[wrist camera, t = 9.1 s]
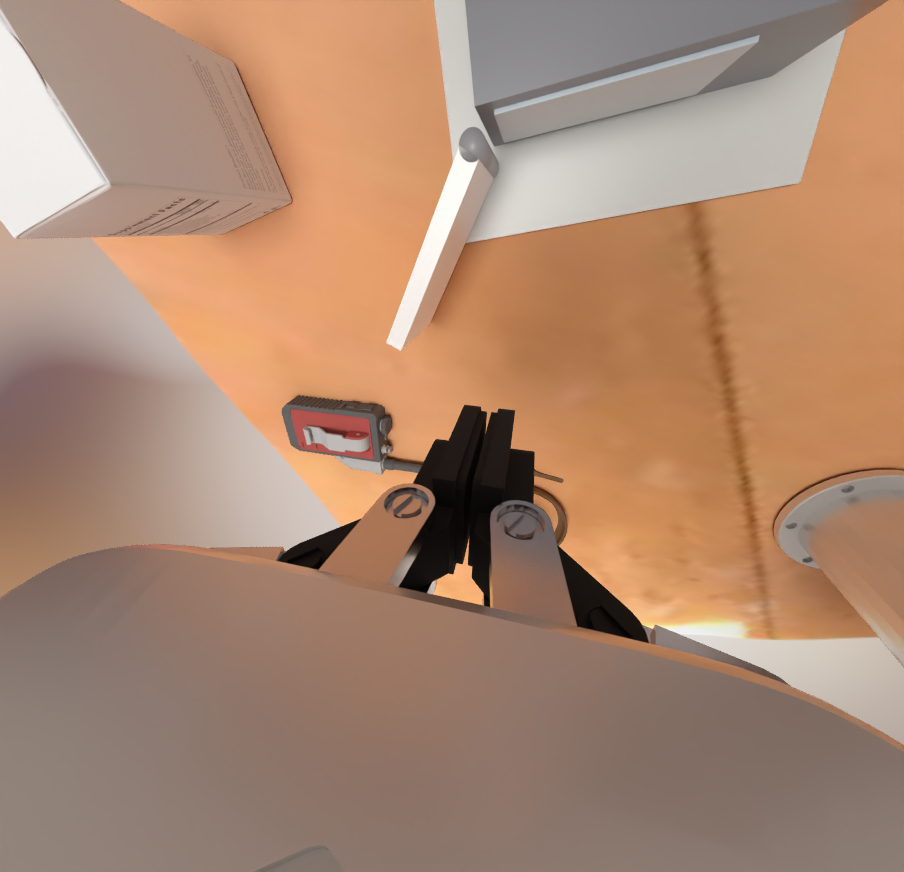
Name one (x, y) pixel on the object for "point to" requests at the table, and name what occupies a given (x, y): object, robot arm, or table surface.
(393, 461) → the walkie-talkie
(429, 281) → the side door
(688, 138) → the camera box
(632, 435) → the table surface
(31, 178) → the supplement box
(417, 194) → the table surface
